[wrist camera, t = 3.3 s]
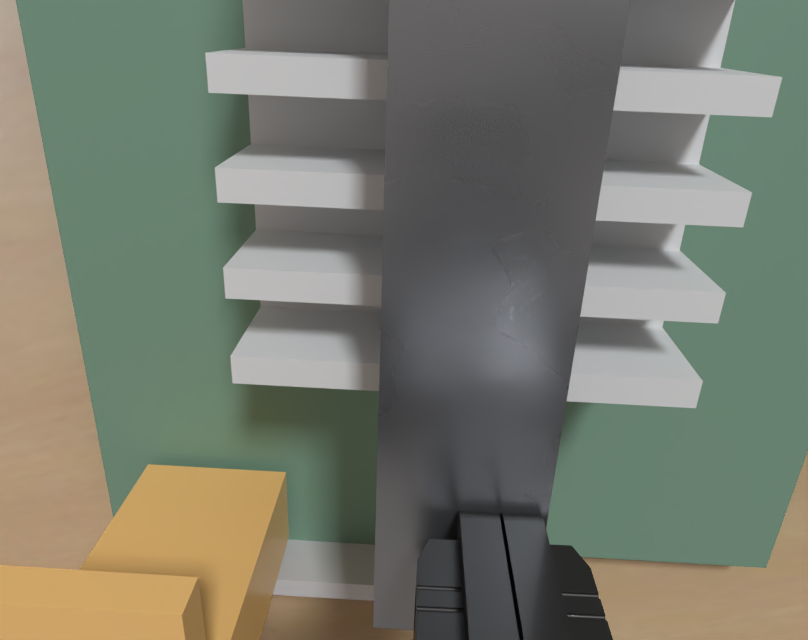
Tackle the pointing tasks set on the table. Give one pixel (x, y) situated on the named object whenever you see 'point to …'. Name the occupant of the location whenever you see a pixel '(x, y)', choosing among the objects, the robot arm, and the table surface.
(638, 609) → the table surface
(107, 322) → the slotted rack on board
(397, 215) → the strap
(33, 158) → the table surface
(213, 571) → the clip
